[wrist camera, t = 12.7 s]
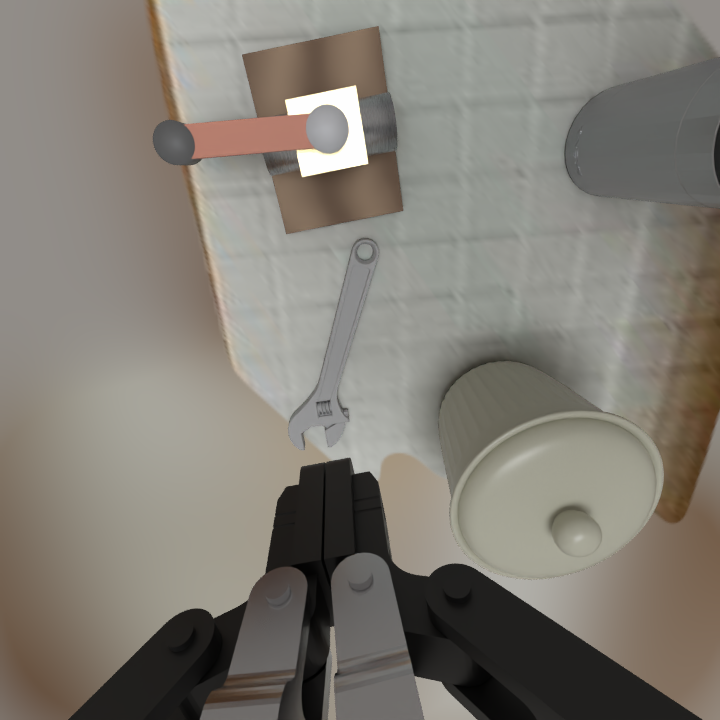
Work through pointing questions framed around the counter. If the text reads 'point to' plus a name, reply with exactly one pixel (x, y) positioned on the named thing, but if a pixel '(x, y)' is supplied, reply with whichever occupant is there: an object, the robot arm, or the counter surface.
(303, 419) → the adjustable wrench
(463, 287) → the counter surface
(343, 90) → the pipe valve
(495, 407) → the canister
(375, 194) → the mounting board
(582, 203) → the counter surface
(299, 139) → the valve lever
